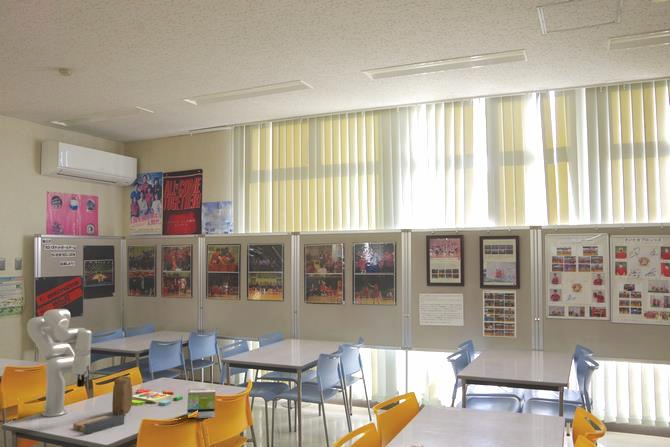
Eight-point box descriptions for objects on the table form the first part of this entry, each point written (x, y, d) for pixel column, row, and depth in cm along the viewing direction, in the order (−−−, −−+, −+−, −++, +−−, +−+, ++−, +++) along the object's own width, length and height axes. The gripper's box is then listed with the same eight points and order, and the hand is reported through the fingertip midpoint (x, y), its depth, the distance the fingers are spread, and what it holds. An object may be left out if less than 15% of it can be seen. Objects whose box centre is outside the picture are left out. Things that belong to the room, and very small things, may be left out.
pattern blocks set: (192, 395, 356) (192, 390, 356) (163, 408, 324) (163, 403, 324) (141, 390, 366) (141, 386, 366) (108, 403, 333) (108, 398, 334)
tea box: (187, 419, 302) (188, 392, 303) (187, 414, 312) (188, 388, 313) (214, 417, 306) (215, 391, 307) (213, 412, 316) (214, 387, 317)
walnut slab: (73, 429, 283) (73, 423, 283) (103, 421, 298) (104, 415, 299) (87, 433, 277) (87, 427, 277) (117, 424, 292) (117, 419, 292)
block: (121, 415, 307) (123, 379, 309) (110, 414, 309) (112, 378, 311) (133, 410, 318) (135, 375, 319) (122, 409, 320) (124, 375, 321)
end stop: (83, 433, 275) (84, 423, 276) (121, 422, 294) (121, 413, 294) (86, 434, 274) (87, 424, 274) (124, 423, 292) (124, 414, 293)
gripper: (68, 351, 299) (66, 385, 298) (84, 355, 291) (82, 390, 290) (81, 349, 305) (78, 382, 304) (97, 353, 297) (95, 387, 296)
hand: (80, 386), depth 297 cm, fingers closed
